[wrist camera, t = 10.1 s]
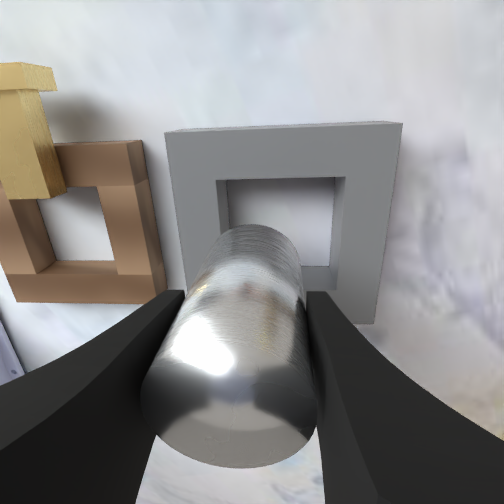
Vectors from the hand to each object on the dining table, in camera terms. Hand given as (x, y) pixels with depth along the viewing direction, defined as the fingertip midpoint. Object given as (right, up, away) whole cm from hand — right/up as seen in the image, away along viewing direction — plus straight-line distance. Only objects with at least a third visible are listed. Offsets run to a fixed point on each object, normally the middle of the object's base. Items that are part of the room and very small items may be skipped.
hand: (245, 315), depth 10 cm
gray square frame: (+2, +4, +9) cm, 10 cm away
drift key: (-11, +8, +6) cm, 15 cm away
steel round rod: (0, +1, +3) cm, 3 cm away
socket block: (-11, +4, +10) cm, 16 cm away
